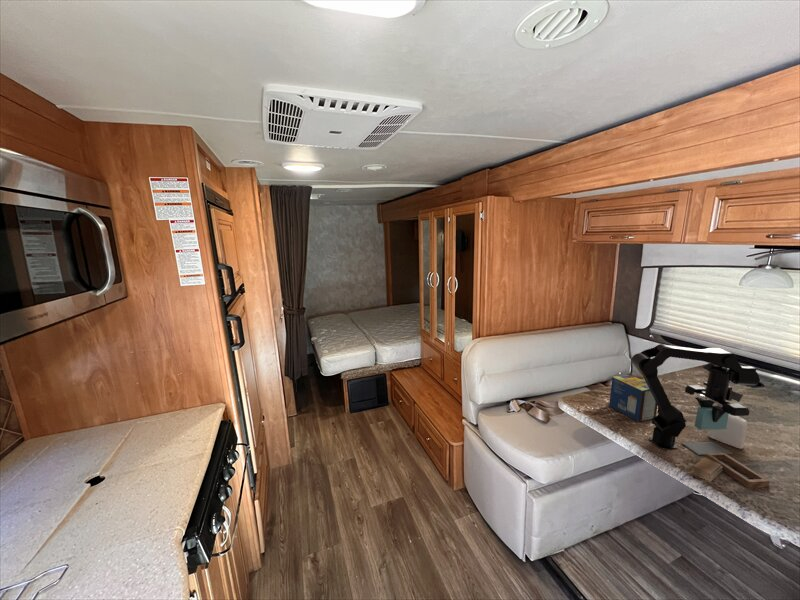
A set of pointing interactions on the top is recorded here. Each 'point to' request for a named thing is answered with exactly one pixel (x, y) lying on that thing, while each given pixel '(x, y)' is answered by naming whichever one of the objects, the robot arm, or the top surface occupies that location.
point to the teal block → (709, 419)
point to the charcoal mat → (705, 448)
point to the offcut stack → (707, 469)
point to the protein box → (632, 398)
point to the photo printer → (731, 432)
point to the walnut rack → (757, 479)
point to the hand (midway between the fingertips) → (711, 419)
